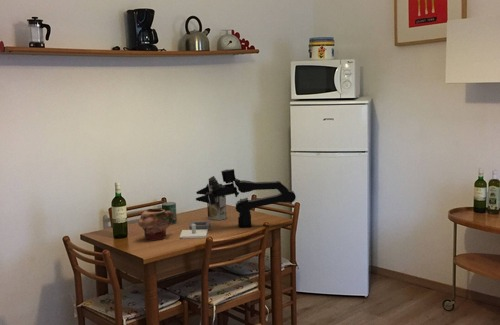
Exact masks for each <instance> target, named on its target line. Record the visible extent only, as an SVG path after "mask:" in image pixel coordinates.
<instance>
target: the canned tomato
mask: <svg viewBox="0 0 500 325" xmlns="http://www.w3.org/2000/svg"><path fill="white" fill-rule="evenodd" d="M161 209H162V210H165V211H166V212H167V211H170V212H172V213H173V215H174V219H173V221H172V223H171V224H170V225H175V224H177V223H178V220H177V218H178V217H177V203H176V202H174V201H173V202H172V201H167V202H163V203H161ZM168 219H169V222H170V221H171V216H170V215H168Z"/></svg>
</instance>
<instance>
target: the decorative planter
mask: <svg viewBox="0 0 500 325" xmlns="http://www.w3.org/2000/svg"><path fill="white" fill-rule="evenodd" d="M168 215H170V216H171V221H170V222H169V219H168ZM173 219H174V215H173V213H172V212H170V211H167V212H166V211H165V210H162V208H148V209H146V210H145V211H143V212H142V213H141V215H140V218H139V220H138V226H139V227H141V229H142V230H143V231H144V238H145V239H147V240H151V241H152V240H153V241H154V240H155V241H156V240H157V239H158V240H163V239H165V237H166V235H167V229H168V228H169V227H170V226H171V225H172V224H171V223H172V221H173ZM162 238H163V239H162Z"/></svg>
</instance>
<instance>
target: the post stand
mask: <svg viewBox="0 0 500 325" xmlns="http://www.w3.org/2000/svg"><path fill="white" fill-rule="evenodd" d="M208 232H209V230H208V229H201V230H196V224H192V230H190V229H182V231H181V232H180V235H179V239H180V238H183V239H206V238H207V236H208Z"/></svg>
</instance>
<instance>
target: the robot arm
mask: <svg viewBox="0 0 500 325" xmlns="http://www.w3.org/2000/svg"><path fill="white" fill-rule="evenodd" d="M220 172H221V176H222V181H223V183H225V184H222V183H219V182H218V179H216V177H215V176H214V175H212V176H211V177H209V178H208V183H207V184H206V185H205V187H203V188H201V189H198V190H197V191H196V195H201V196H198V197H195V201H197V202H202V203H206V204H207V203H209V204H211V205H213V204H215V203H216V199H217V197H221V196H222V197H224V196H231V195H234V197H235V198H238V196H239V194H240V193H245V194H246V193H249V192H253V191H259V190H264V191H265V190H277V191H278V192H280V193H278V194H274V195H271V196H266V197H262V198H261V197H260V198H257V199H248V197H245V198H240V199H239V200H237V201H236V203H235V211H236V212H237V213H239V214H238V217H237V218H238V219H237V220H238V222H237V223H238V224H237V225H238V227H239V228H252V227H253V226H252V213H251V210H252V209H254V208H258V207H259V208H260V207H264V206H269V205H273V204H278V203H285V204H286V203H287V204H289V203H293V202H295V201H296V198H297V197H296V196H297V195H296V193H295V192H294V190H292V189H288V188H287V187H286V186H285V185H284V184H283V183H282V182H281V181H279V180H277V181H276V180H275V181H257V182H256V181H255V182H254V181H250V180H243V179H242V180H241V179H238V178H236V175H235V169H234V168H233V169H227V168H226V169H224V170H221V171H220Z"/></svg>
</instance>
